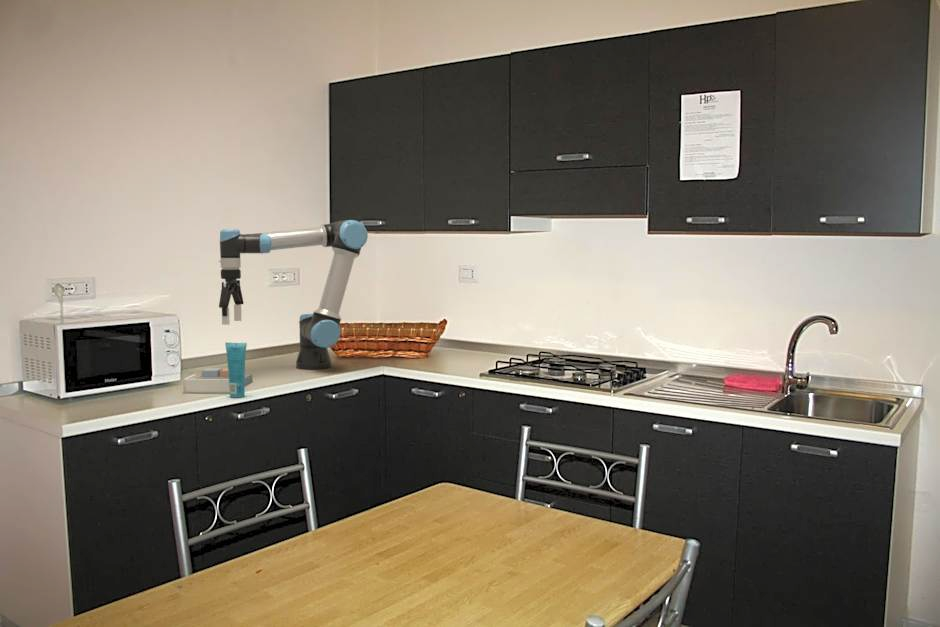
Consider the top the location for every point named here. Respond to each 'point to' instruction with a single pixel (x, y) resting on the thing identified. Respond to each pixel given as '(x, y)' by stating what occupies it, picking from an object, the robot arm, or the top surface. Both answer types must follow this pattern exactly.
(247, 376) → the board
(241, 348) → the tube
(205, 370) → the tile
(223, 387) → the tray
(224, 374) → the tile
